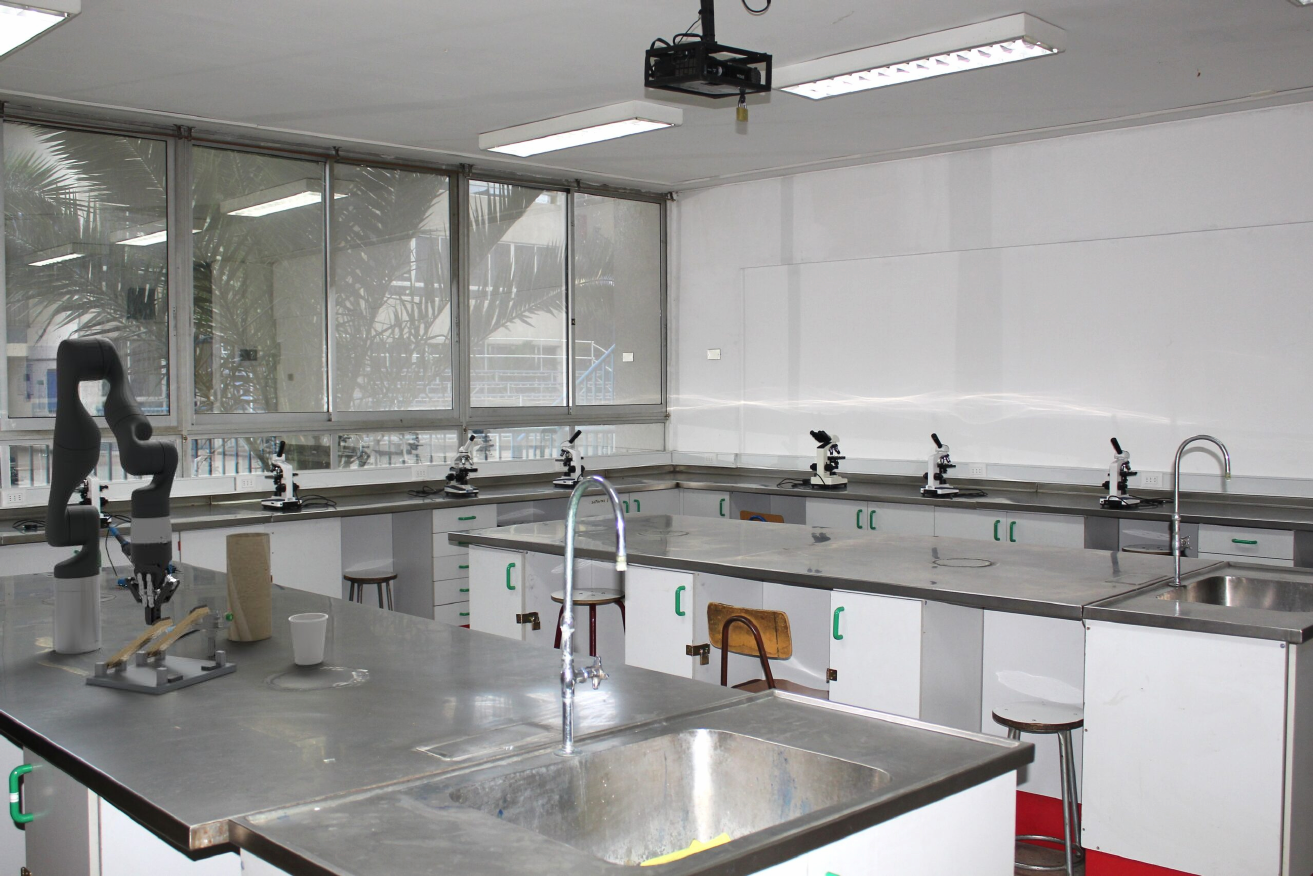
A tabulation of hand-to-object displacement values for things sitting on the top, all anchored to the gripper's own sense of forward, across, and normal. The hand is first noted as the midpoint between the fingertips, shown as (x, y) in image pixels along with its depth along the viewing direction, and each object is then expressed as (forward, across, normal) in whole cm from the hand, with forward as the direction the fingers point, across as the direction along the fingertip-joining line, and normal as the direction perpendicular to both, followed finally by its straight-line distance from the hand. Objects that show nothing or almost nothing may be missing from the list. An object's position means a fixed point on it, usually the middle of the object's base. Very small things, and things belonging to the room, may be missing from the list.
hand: (153, 624), depth 212 cm
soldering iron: (+12, -98, +97) cm, 138 cm away
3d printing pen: (+16, -32, +41) cm, 54 cm away
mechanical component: (+12, -8, +23) cm, 28 cm away
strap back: (+9, -12, +10) cm, 18 cm away
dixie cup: (+13, +16, +27) cm, 34 cm away
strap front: (+9, -12, 0) cm, 15 cm away
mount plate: (+12, -3, +5) cm, 14 cm away
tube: (+12, -14, +41) cm, 45 cm away
